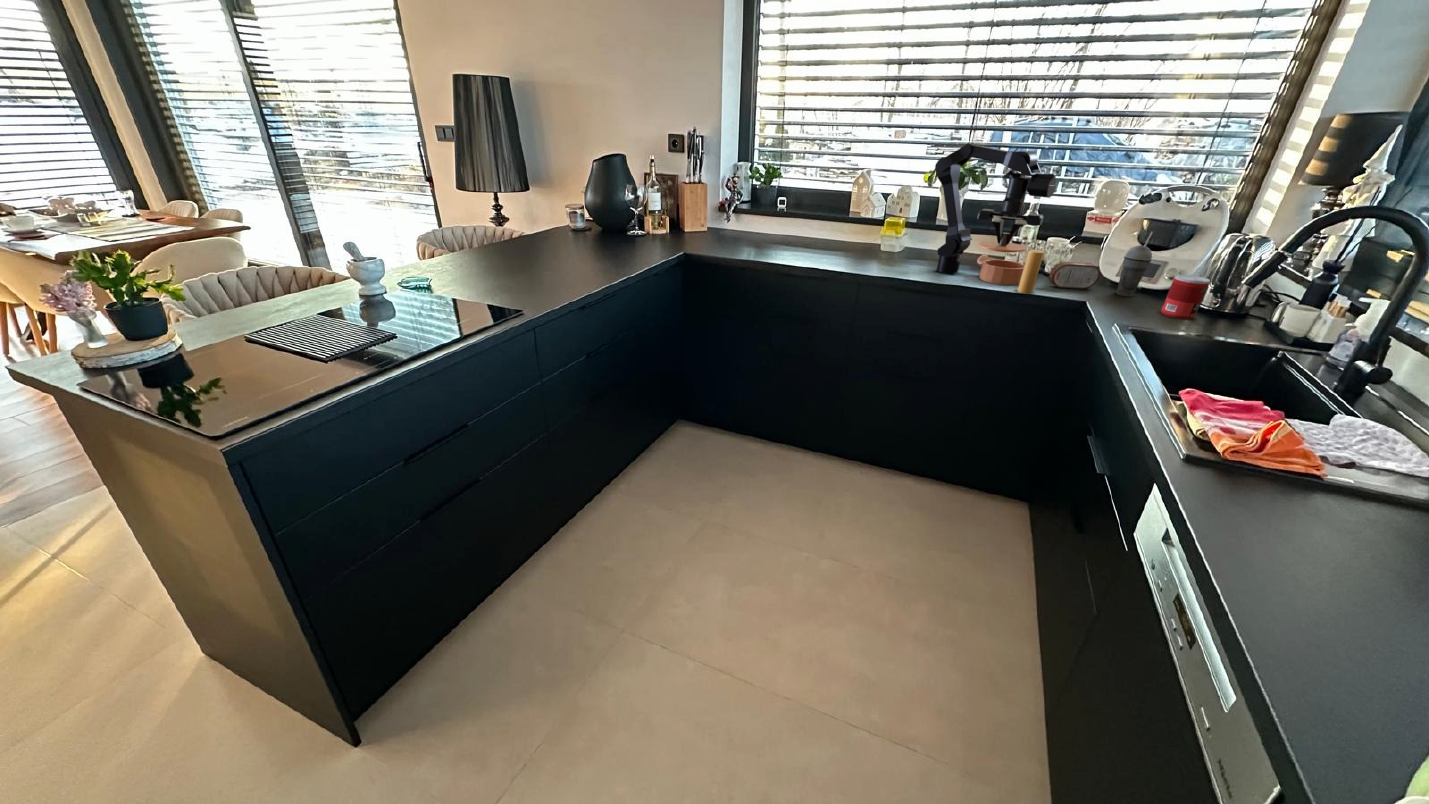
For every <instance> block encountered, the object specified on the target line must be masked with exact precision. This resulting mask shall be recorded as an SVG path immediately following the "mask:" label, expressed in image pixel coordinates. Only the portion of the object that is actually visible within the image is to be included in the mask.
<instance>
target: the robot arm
mask: <svg viewBox="0 0 1429 804" xmlns="http://www.w3.org/2000/svg"><path fill="white" fill-rule="evenodd" d="M972 158H973V159H977V160H982V161H987V162H991V163H996V164H1000V165H1002V166H1004V167H1006V168H1008V169H1010V170H1009V171H1008V172H1007V173H1005V174H1004V175H1003V176H1002V178H1004V179H1008V184H1007V188H1006V192H1005V196H1004V199H1003V200H1002V201H1001V205H1000V210H1001V212H995V211H996V210H995V209H992V208H991V209H990V208H982V209H980V210H979V211H978V213H977V217H976V219H977V220H983V221H987V220H989V219H992V220H991V221H990V224H993V226H994V230H995V233H996V241H997V242H998V244H999V242H1000V238H1001V234H1002V233H1003V228H1004V224H1005V223H1004V222H1005V220H1008V221H1015V222H1014V223H1013V224H1012V227H1011V228H1010V231H1009V233H1010V235H1009V237H1008V240H1007V245H1008V244H1009V243H1011V242H1012V240H1013V238H1014V237H1015V235H1016V233H1017V232H1018V231H1019V229H1020V228H1023V227H1025V226H1026V225H1028V226H1037V227H1039V226H1041V225H1042V224H1043V222H1044V215H1043V214H1041V213H1040V214H1039V213H1029V214H1028V215H1023V214H1024V211H1025V207H1026V206H1025V201H1026V196H1027V194H1028V195H1029V196H1030V197H1038V198H1046V199H1050V198H1052V197H1053V195H1054V194H1055V191H1056V188H1057V179H1056V177H1057V174H1056V173H1042V170H1041V168H1040V165H1039V164H1038V161H1039V160H1038V155H1037V153H1036V152H1035V151H1032V150H1005V149H1000V148H994V147H989V146H985V145H979V144H977V143H966V144H964V145H963V146H961V147H960V148H958V149H957V150H955V151H953V152H951V153H949V154H948V155H947V156H943V157H941V158H939V159H938V160H937V162H936V163H935V165H934V170H935V173H936V177H937V179H938V181H939V182H940V184H941V185H942V190H943V197H944V205H945V212H946V213H945V214H946V219H947V230H946V234H945V243H943V244H942V245H941V246H940V247H938V248H937V255H938V256H939V257H938V262H937V266H936V269H935V270H934V272H935V273H940V274H946V275H954V274H956V273H958V272H959V271H960V270H959V269H960V264H961V259H960V258H961V255H963V254H964V252H965V251H966V250H967V249H969V247H970V245H971V241H973V239H972V236H971V228H970V227H969V228H966V227H965V225H964V223H963V222H964V221H963V214H962V206H961V198H960V197H961V196H960V189H959V179H960V176H961V168H962V167H963V166H964V165H967V163H968V162H969V161H970V160H971V159H972Z"/></svg>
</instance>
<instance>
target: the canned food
mask: <svg viewBox="0 0 1429 804" xmlns="http://www.w3.org/2000/svg"><path fill="white" fill-rule="evenodd" d="M1210 283H1211V280H1210V279H1208V278H1207V277H1203V276H1199V275H1198V276H1197V275H1192V274H1191V275H1190V274H1175V275H1174V278H1173V280H1172V281H1171V285H1170V287H1169V290H1168V292H1167V294H1166V298H1165V299H1164V302H1163V305H1162V307H1161V314H1162V315H1163V316H1166V317H1169V318H1173V319H1178V320H1179V319H1180V320H1193V319H1194V318H1195V317H1196V315H1197V313H1198V310H1199V308H1200V307H1201V305H1202V301H1203V299H1204V298H1205V295H1206V293H1207V290H1208V288H1209V285H1210Z"/></svg>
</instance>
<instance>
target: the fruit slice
mask: <svg viewBox="0 0 1429 804" xmlns="http://www.w3.org/2000/svg"><path fill="white" fill-rule="evenodd" d="M996 259H997V258H995V257H993V256H990V255H988V254H987V253H982V254H981V255H980V256H979V257H978V258H977V259H976V263H977V265H978V266H979V267H980V268H981V267H982V262H983V261H984V260H996Z"/></svg>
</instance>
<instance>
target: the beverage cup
mask: <svg viewBox="0 0 1429 804" xmlns="http://www.w3.org/2000/svg"><path fill="white" fill-rule="evenodd" d="M1153 234H1154V231H1150V234H1149V235H1148V237H1147V239H1146V241H1145V244H1144V245H1135V246H1133V247H1131V248H1130V249H1128V250H1127V252H1126V253H1125V254H1124V256H1123V262H1122V267H1121V268H1122V269H1121V273H1120V276H1119V281H1118V285H1117V290H1116V295H1118V296H1121V297H1130V298H1131V297H1133V296H1134V294H1135V292H1136V291H1137V289H1138V287H1139V285H1140V283H1141V281H1142V278H1143V277H1144V274H1145V272H1146V270H1147V268H1148V267H1149V266H1150V263H1151V262H1152V260H1153V259H1152V258H1153V253H1152V252H1153V251H1152V250H1151V249H1150V248H1149V247H1148V246H1147V245H1148V243H1149V241H1150V239H1151V237H1152V235H1153Z"/></svg>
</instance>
